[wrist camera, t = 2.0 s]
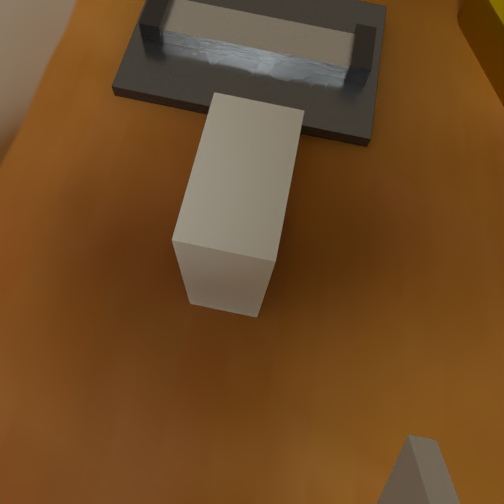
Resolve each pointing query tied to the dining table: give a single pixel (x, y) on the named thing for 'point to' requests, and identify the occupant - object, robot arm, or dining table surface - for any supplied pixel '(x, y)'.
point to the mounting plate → (261, 58)
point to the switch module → (236, 203)
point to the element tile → (486, 37)
